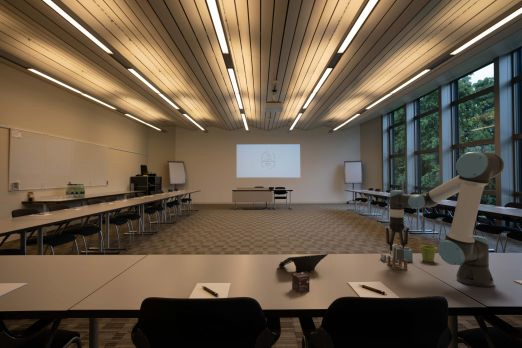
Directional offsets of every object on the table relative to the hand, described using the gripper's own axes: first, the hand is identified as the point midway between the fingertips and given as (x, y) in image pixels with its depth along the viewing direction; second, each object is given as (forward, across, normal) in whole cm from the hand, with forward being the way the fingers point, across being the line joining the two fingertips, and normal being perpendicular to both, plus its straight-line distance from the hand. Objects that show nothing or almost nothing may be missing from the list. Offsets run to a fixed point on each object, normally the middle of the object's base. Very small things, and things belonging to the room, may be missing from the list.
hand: (396, 256), depth 176 cm
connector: (+6, -11, -14) cm, 19 cm away
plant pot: (+6, -24, -14) cm, 29 cm away
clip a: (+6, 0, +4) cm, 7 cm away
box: (+6, +58, +43) cm, 72 cm away
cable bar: (0, 0, 0) cm, 1 cm away
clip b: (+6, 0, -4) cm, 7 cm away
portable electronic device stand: (+7, +57, +11) cm, 58 cm away
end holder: (+6, 0, -13) cm, 14 cm away
